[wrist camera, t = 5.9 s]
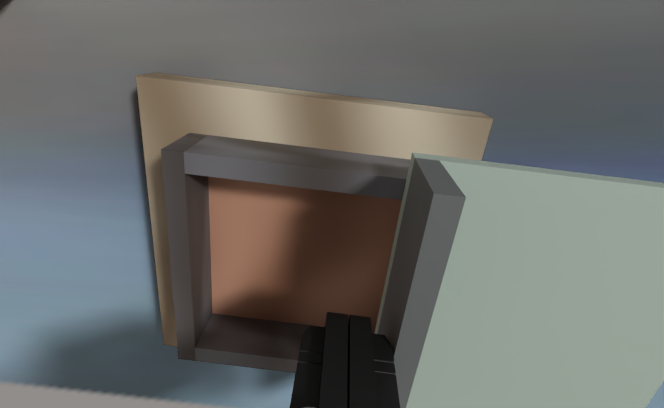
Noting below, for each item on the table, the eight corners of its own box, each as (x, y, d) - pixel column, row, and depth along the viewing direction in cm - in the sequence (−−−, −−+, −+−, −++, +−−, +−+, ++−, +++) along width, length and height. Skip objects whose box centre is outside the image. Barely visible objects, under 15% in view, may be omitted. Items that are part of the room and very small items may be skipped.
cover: (361, 397, 17) (363, 482, 14) (412, 152, 12) (434, 193, 9) (614, 428, 17) (675, 519, 14) (765, 195, 12) (914, 251, 9)
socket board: (175, 325, 21) (139, 384, 18) (154, 72, 16) (95, 82, 12) (414, 354, 21) (427, 418, 18) (480, 112, 16) (519, 134, 12)
